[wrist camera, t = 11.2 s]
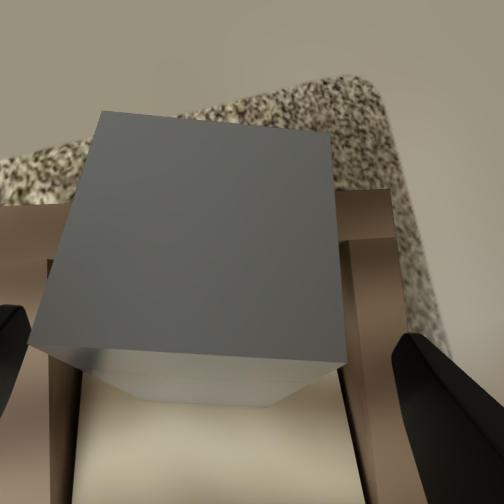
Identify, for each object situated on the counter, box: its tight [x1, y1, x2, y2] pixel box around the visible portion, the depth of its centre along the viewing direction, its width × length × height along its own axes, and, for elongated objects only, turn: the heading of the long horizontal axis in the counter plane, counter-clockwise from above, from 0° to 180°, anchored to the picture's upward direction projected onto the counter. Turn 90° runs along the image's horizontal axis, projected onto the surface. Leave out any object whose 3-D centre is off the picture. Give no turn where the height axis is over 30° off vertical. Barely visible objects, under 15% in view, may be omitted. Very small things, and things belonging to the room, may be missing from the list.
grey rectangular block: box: [27, 111, 347, 407], centre depth 14 cm, size 6×6×12 cm
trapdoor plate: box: [72, 369, 365, 504], centre depth 19 cm, size 13×13×1 cm
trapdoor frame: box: [0, 189, 428, 504], centre depth 19 cm, size 19×19×6 cm
